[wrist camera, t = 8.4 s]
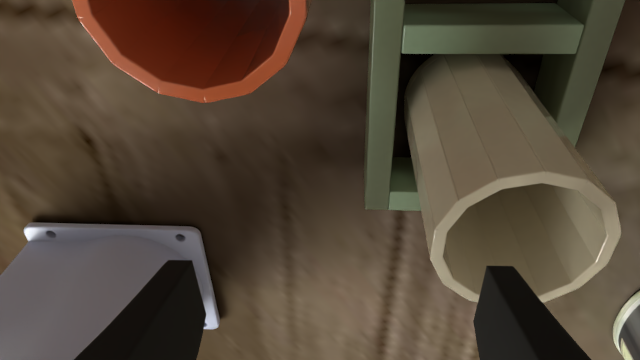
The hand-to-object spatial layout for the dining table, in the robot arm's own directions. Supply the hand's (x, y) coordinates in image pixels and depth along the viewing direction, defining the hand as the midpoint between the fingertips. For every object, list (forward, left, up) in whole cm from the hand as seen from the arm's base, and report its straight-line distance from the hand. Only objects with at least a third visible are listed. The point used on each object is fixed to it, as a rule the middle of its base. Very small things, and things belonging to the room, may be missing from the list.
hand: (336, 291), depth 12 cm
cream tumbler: (+5, 0, -10) cm, 12 cm away
